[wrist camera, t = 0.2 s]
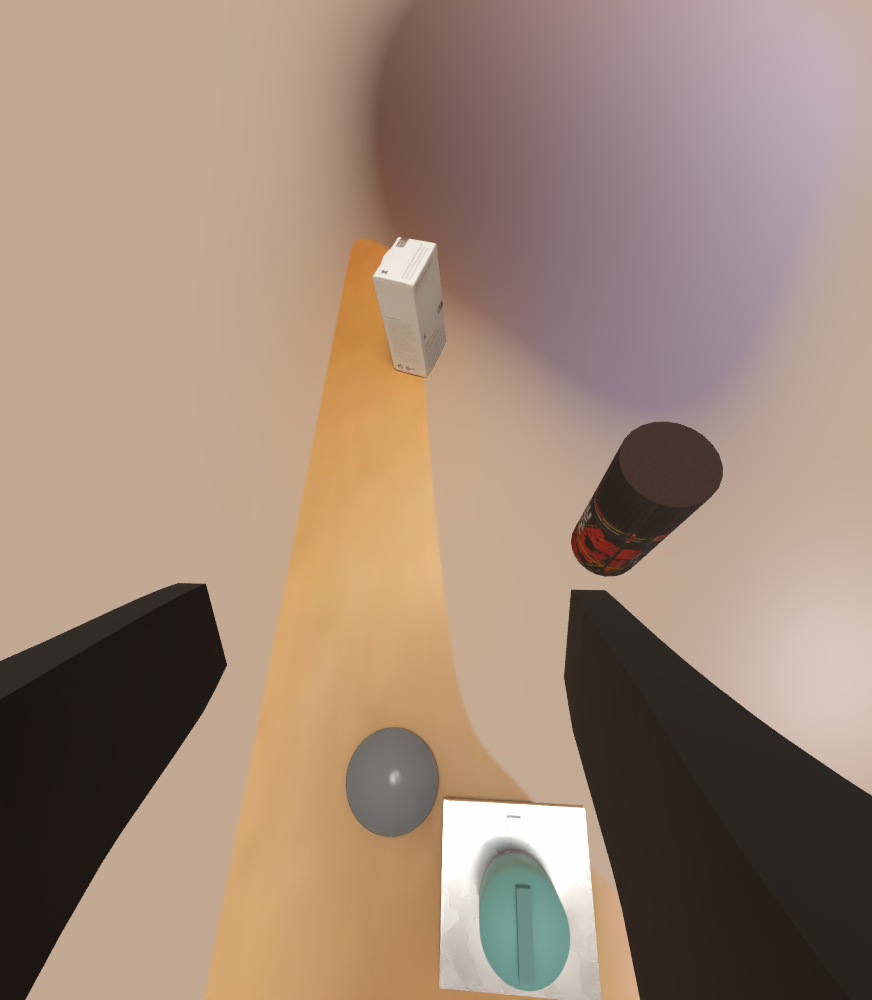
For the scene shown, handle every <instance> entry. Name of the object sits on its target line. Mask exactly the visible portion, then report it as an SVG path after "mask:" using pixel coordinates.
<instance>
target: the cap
mask: <svg viewBox="0 0 872 1000" xmlns="http://www.w3.org/2000/svg"><path fill="white" fill-rule="evenodd" d="M479 930H480V939H481V944H482V948H483V951H484V954H485V956H486V959H487V961H488V963H489V964H490V966H491V968H492V969H493V971H494V972H495V973H496V974H497V975H498V976H499V977H500V978H501V979H502V980H503V981H504V982H505V983H507V984H508V985H510V986H512V987H513V988H516V989H519V990H522V991H537V990H541V989H543V988H545V987H547V986H549V985H550V984H552V983H553V982H554V981H555V980H556V979H557V978H558V976H559V975H560V974H561V972H562V970H563V969H564V966H565V964H566V961H567V958H568V954H569V949H570V929H569V923H568V918H567V915H566V912H565V910H564V908H563V905H562V903H561V901H560V899H559V896H558V894H557V892H556V890H555V887H554V885H553V883H552V881H551V879H550V877H549V875H548V874H547V872H546V871H545V869H544V868H543V867H542V866H541V865H540V864H539V863H538V862H536V861H535V860H533V859H532V858H530V857H528V856H525V855H522V854H507V855H504V856H501V857H500V858H498V859H496V860H495V861H494V862H493V863H492V864H491V865H490V866H489V867H488V869H487V870H486V872H485V874H484V876H483V878H482V881H481V885H480V890H479Z"/></svg>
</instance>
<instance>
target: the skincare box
mask: <svg viewBox="0 0 872 1000" xmlns="http://www.w3.org/2000/svg"><path fill="white" fill-rule="evenodd" d="M373 282H374V286H375V290H376V295H377V299H378V303H379V307H380V311H381V315H382V319H383V323H384V327H385V331H386V335H387V339H388V344H389V348H390V352H391V356H392V360H393V364H394V368H395V369H396V370H400V371H403V372H406V373H410V374H413V375H417V376H421V377H425V378H426V377H427V376H428V375H429V374H430V372H431V370H432V369H433V367H434V365H435V363H436V361H437V360H438V357H439V355H440V354H441V351H442V349H443V347H444V345H445V342H446V336H445V324H444V316H443V304H442V296H441V284H440V275H439V266H438V257H437V246H436V244H434V243H430V242H425V241H419V240H413V239H406V238H401V237H398V238H397V240H396V242H395V243H394V245H393V246H392V248H391V249H390V250H389V251H388V252H387V253H386V254H385V256H384V257H383V259H382V262H381V264H380V266H379V268H378V269H377V271H376V272H375V274H374V275H373Z"/></svg>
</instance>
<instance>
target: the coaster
mask: <svg viewBox="0 0 872 1000" xmlns="http://www.w3.org/2000/svg"><path fill="white" fill-rule="evenodd" d="M437 789H438V771H437V766H436V762H435V759H434V756H433V754H432V752H431V750H430V749H429V747H428V746H427V744H426V743H425V742H424V741H423V740H422V739H421V738H420V737H419V736H417V735H416V734H414V733H413V732H410V731H408V730H405V729H401V728H387V729H383V730H380V731H377V732H375V733H373V734H371V735H370V736H369V737H367V738H366V739H365V740H364V741H363V742H362V743H361V744H360V745H359V746H358V748H357V749H356V751H355V752H354V754H353V756H352V758H351V760H350V763H349V766H348V770H347V776H346V793H347V798H348V802H349V805H350V808H351V810H352V812H353V814H354V815H355V817H356V818H357V820H358V821H359V822H360V823H361V824H362V825H363V826H364V827H365V828H366V829H368V830H369V831H371V832H373V833H375V834H378V835H381V836H386V837H395V836H400V835H403V834H406V833H408V832H410V831H412V830H413V829H415V828H416V827H418V826H419V825H420V824H421V823H422V822H423V821H424V819H425V818H426V817H427V815H428V814H429V812H430V810H431V808H432V806H433V804H434V801H435V798H436V794H437Z"/></svg>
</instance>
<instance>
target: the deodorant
mask: <svg viewBox="0 0 872 1000" xmlns="http://www.w3.org/2000/svg"><path fill="white" fill-rule="evenodd" d="M722 476H723V466H722V463H721V460H720V456H719V454H718V452H717V451H716V450H715V448H714V446H713V445H712V444H711V443H710V442H709V441H708V440H707V439H706V438H705V437H704V436H703V435H701V434H700V433H698V432H697V431H695V430H693V429H692V428H689V427H686V426H684V425H681V424H677V423H671V422H653V423H649V424H646V425H642V426H640V427H638V428H637V429H635V430H633V431H632V432H631V433H630V434H629V435H628V436H627V437H626V438H625V439H624V441H623V443H622V444H621V446H620V448H619V450H618V452H617V453H616V455H615V457H614V459H613V461H612V463H611V464H610V466H609V468H608V470H607V472H606V473H605V475H604V477H603V479H602V480H601V482H600V484H599V486H598V488H597V490H596V491H595V493H594V495H593V497H592V498H591V500H590V502H589V504H588V506H587V507H586V509H585V511H584V513H583V515H582V516H581V518H580V520H579V522H578V523H577V525H576V527H575V529H574V531H573V533H572V539H571V544H572V550H573V553H574V555H575V557H576V559H577V560H578V561H579V562H580V564H581V565H582V566H584V567H585V568H586V569H587V570H589V571H591V572H593V573H595V574H597V575H601V576H617V575H621V574H623V573H625V572H627V571H628V570H630V569H631V568H632V567H633V566H634V565H635V564H637V563H638V562H639V561H640V560H641V559H642V558H643V557H644V556H646V555H647V554H648V553H649V552H650V551H651V550H652V549H653V548H655V547H656V546H657V545H658V544H659V543H660V542H661V541H662V540H663V539H665V538H666V537H667V536H668V535H669V534H670V533H671V532H672V531H674V530H675V529H676V528H677V527H678V526H679V525H680V524H681V523H682V522H683V521H685V520H686V519H687V518H688V517H689V516H690V515H691V514H693V512H695V511H696V510H697V509H698V508H699V507H700V506H702V505H703V504H704V503H705V502H706V501H707V500H708V499H709V498H710V497H711V496H712V495H713V494H714V493H715V491H716V490H717V489H718V488H719V486H720V483H721V480H722Z"/></svg>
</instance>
